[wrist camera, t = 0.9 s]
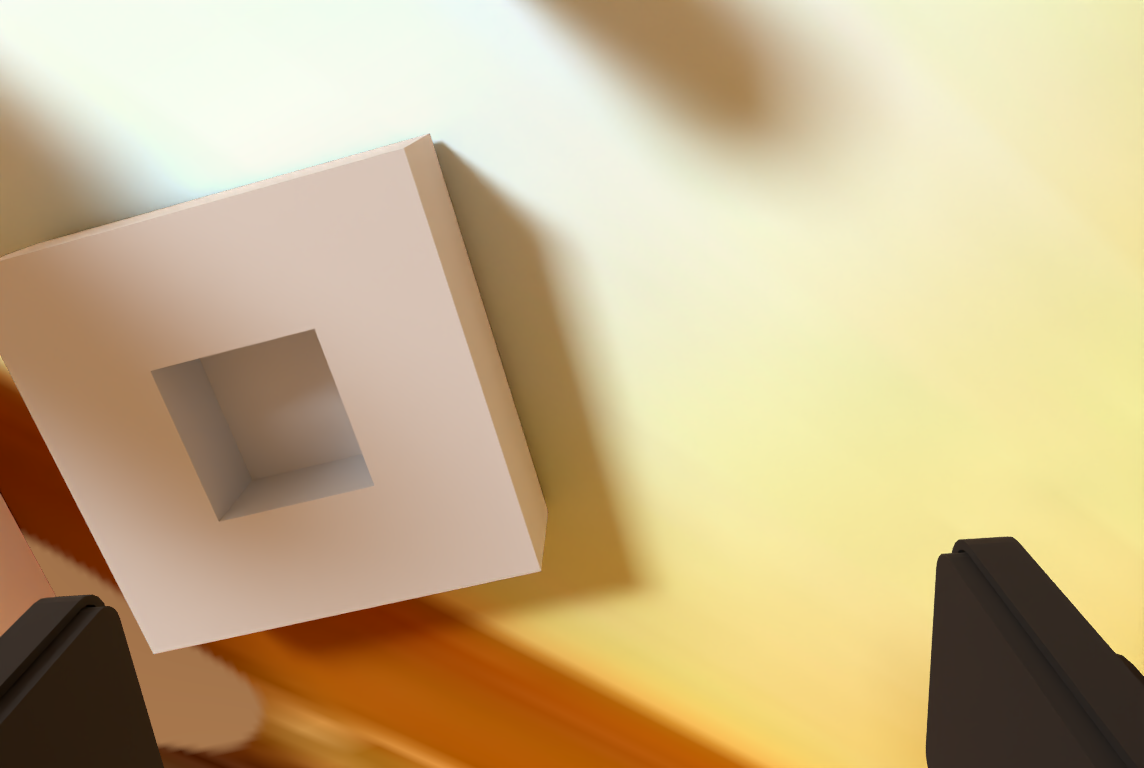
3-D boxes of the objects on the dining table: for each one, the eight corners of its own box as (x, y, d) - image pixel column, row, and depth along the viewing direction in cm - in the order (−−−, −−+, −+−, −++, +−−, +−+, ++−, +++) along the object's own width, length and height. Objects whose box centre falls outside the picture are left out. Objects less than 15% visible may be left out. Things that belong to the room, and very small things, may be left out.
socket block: (429, 133, 29) (403, 148, 25) (548, 512, 34) (540, 571, 30) (36, 243, 31) (-42, 272, 27) (200, 589, 36) (153, 654, 32)
